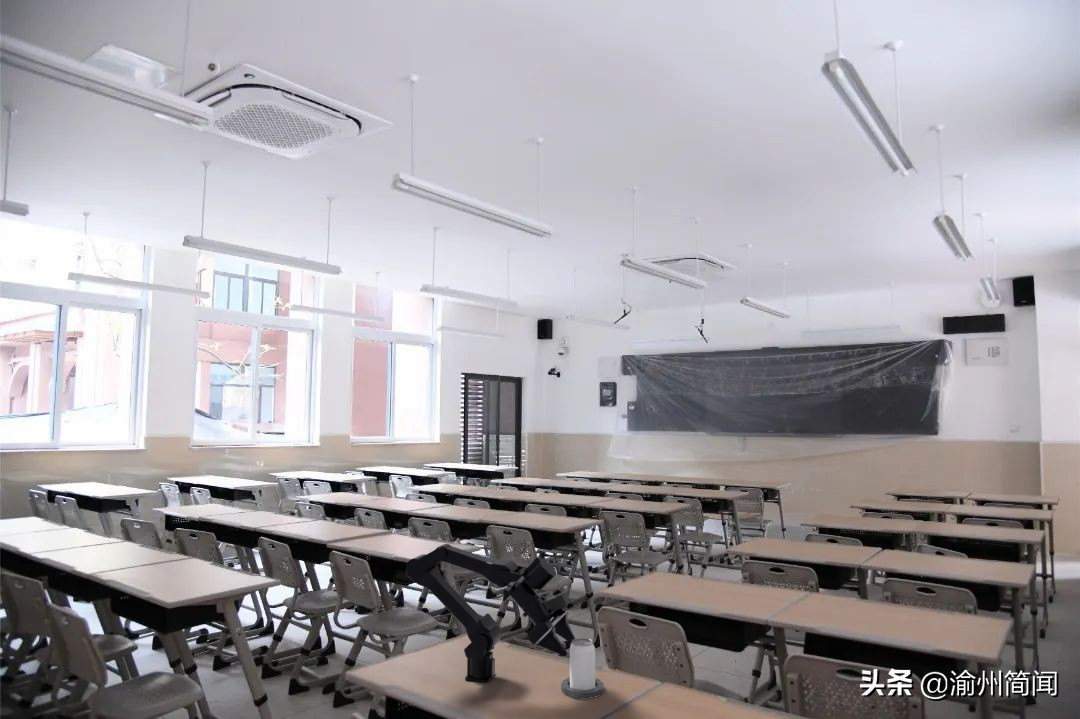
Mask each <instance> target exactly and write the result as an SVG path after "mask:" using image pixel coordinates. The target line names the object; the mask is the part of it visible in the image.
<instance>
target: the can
mask: <svg viewBox="0 0 1080 719" xmlns="http://www.w3.org/2000/svg"><path fill="white" fill-rule="evenodd" d="M569 677H570V687H571V688H573V689H576V690H590V689H593V688H595V678H596V647H595V645H594V640H592V639H590V638H585V637H584V638H583V637H580V638H575V639H574V640H572V643H570V646H569Z"/></svg>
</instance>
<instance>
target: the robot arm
mask: <svg viewBox="0 0 1080 719" xmlns="http://www.w3.org/2000/svg"><path fill="white" fill-rule="evenodd" d="M442 562H445V563H448V564H451V565H453V566H456V567H459V568H461V569H465V570H468V571H471V572H474V573H477V574H480V575H481V576H483V577H484V578H485V579H486V580H487V581H488V582H490V583H491V584H493V585H495V586H497V587H500V588H504V587H505V588H504V589H502V590H503V591H502V592H503V598H502V601H503V602H506V601H507V600H509V599H510V598H512V599H513V601H514V602H515V603H516V605H517V606H518V607H519V608H520V609H521V610H522V612H523V613H522V616H523V618H526V617H528V618H529V619H530V621H531V622H532V623H533V626H532V627H533V629H531V631H530V632H529V633H528V634H527V638H528V642H530V643H531V645H532V646H534V645H535V644H536V645H535V646H537V647H541V648H544V649H546V650H549V651H552V652H553V653H556V654H558V655H560V656H562V657H566V656H567V655H568V652H567V650H566V648H565V646H564V645H563V644H562V641H560V639H559V638H558V637H557V635H558V636H559V637H561V638H563V639H564V640H566V641H567V642H568V643H570V644H572V640H574V639H576V637H575V635H574V633H573V631H572V629H571V627H570V625H569V622H568V616H569V612H568V610H569V608H568V604H571V602H570V599H569V593H568V592H567V591H566V590H564V589H562V588H557V589H556V590H554V591H553V592H554V593H553V594H554V595H551V597H548V598H547V597H546V596H545V595H543V594H542V595H539V594H538V593H539V592H537V590H539V591H542V590H544V589H545V587H546V586H547V585H548V584H549V583H550V582H551V581H552V580H553V579H554V578H555V577H557V571H556V569H555V567H554V566H553V564H551V563H550V562H548V561H547V560H546V559H543V558H542V557H541V556H539V555H538V556H536V557H535V558H534V559H533V560H532V562H531V563H530V564H529V566H523V565H518V564H517V563H516V562H515V561H513V560H509V559H503V558H502V559H501V558H488V557H485V556H482V555H478V554H476V553H472V552H471V551H467V550H464V549H461V548H459V547H457V546H453V545H452V544H450V543H444V544H442V545H439V546H438V547H436V549H433V550H432V551H430V552H428V553H425V554H420V555H418V556H415V557H413V558H412V559H409V560H408V561H407V563H406V565H405V575H406V576H407V577H408V578H409V579H410V580H411V581H412V582H414V583H415V584H416V585H419V586H421V587H423V588H425V589H428V590H429V592H431V593H432V594H433V595H434V596H435V597H436V599H437V600H439V602H440V603H441V604H442V605H443V606H444V607H445V608H446V609H447V610H448V611H449V613H451V614H452V615H453V616H454V617H455V618H456V620H458V622H459V623H460V624H461V625H462V626H463V627H464V628H465V632H466V634H467V637H468V640H470V643H469V644H468V645H467V646H466V647H465V648H464V649H463V651H464V655H465V657H466V659H467V661H466V664H467V665H466V668H467V670H466V671H467V672H466V676H465V677H464V680H465V681H473V682H482V683H483V682H484V683H489V681H491V679H492V678H493V677H494V675H495V674H496V669H495V668H496V658H494V651H493V650H494V649H495V647H496V645H497V644H498V643H499V642H500V641H501V639H502V630H501V627H500V626H499V622H498V621H496V620H494V618H493V617H492V615H491V614H489V613H488V612H487V613H486V614H484V615H481V614H479V613H478V612H477V611H475V609H474V608H473V607H472V606H471V605H470V604H469V603H468V602H467V601H466V600H465V599H464V598H463V597H462V596H461V595H460V594H459V593H458V592H457V591H456V590H455V588H454V587H452V586H451V585H450V583H449V582H448V581H446V579H445V578H444V577H443V575H442V573H441V571H440V567H439V565H440V564H441V563H442ZM522 578H523V580H522V581H521V582H520V581H519V580H521V579H522ZM512 583H513V584H512ZM510 584H512V585H511V586H510V587H509V588H508V587H507V586H509V585H510Z"/></svg>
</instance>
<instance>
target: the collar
mask: <svg viewBox="0 0 1080 719" xmlns="http://www.w3.org/2000/svg"><path fill="white" fill-rule="evenodd" d="M569 686H570V676H569V677H568V678H565V679H563V681H562V682H561V684H560V687H561V688H560V689H561V690H562V691H561V692H562V693H563V694H564V695H565V696H567V697H569V696H571V697H570V698H572V697H573V699H578V698H590V697H595V696H598V695H600V696H602V695H603V694H604V690H605V683H603V681H601V679H599V678H596V677H595V687H596V688H593V689H590V690H576V689H573V688H571V687H569ZM601 694H602V695H601ZM574 697H575V698H574ZM598 697H599V696H598ZM590 699H591V698H590Z"/></svg>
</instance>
